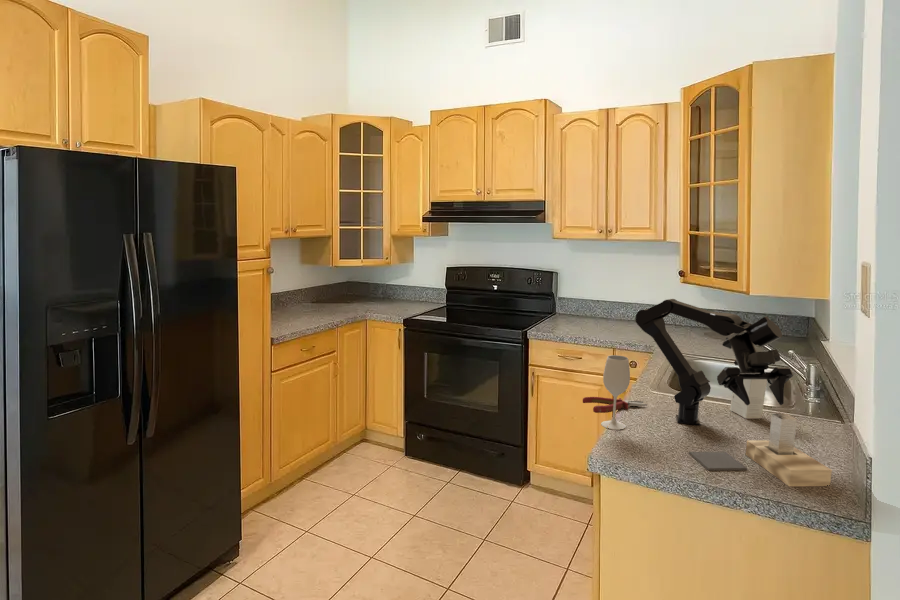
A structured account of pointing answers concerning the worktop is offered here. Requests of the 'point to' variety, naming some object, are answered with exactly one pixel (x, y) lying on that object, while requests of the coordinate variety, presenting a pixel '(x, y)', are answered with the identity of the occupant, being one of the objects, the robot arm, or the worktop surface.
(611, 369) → the wineglass
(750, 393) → the skincare box
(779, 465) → the wooden block with hole
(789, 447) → the steel bar
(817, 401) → the worktop surface
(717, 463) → the rubber mat
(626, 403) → the pliers
